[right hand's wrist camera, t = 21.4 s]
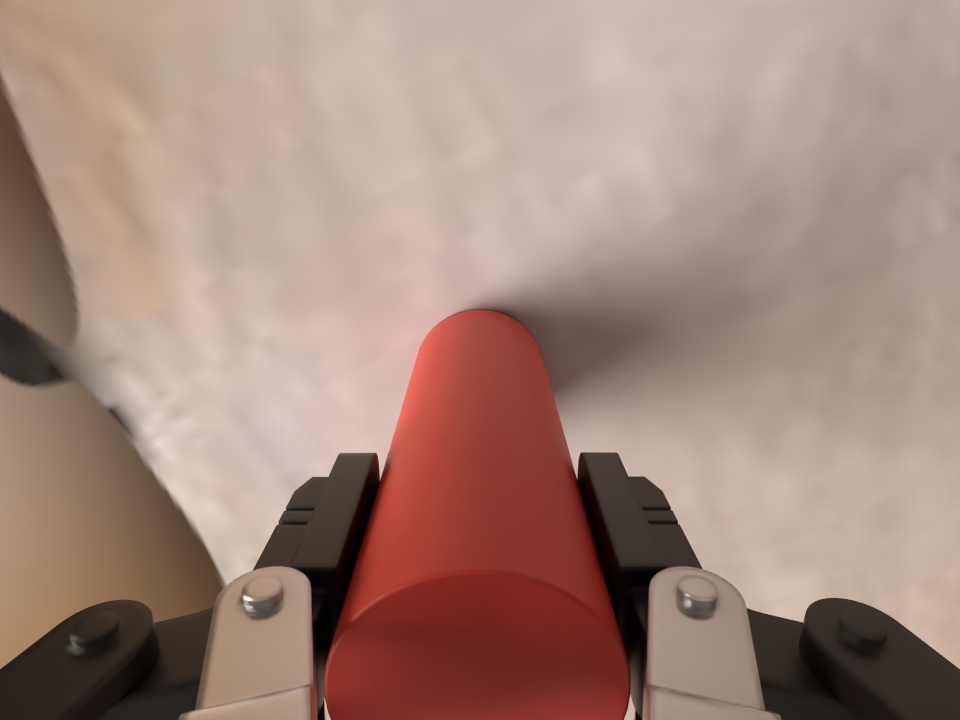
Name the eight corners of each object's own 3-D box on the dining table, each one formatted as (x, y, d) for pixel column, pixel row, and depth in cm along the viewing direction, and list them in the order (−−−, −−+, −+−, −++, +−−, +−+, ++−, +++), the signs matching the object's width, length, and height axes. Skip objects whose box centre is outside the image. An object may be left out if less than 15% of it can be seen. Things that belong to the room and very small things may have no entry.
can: (502, 284, 18) (536, 518, 7) (566, 390, 19) (682, 736, 8) (391, 350, 19) (259, 656, 8) (458, 448, 20) (430, 839, 9)
